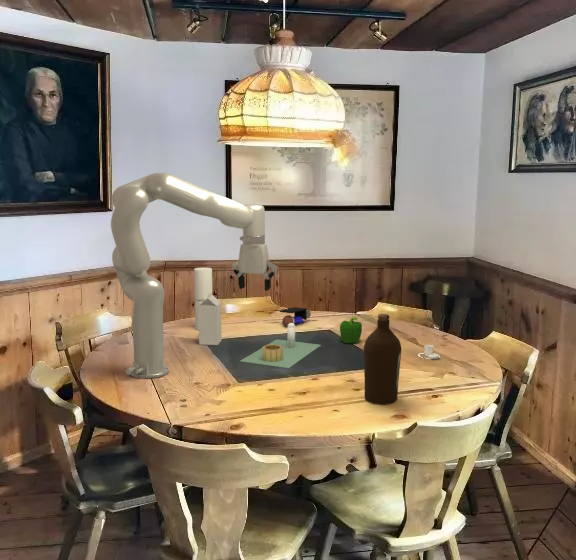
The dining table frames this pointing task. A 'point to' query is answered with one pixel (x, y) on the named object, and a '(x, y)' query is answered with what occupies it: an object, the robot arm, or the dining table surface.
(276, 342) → the post board
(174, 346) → the dining table surface
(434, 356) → the white charger with cable
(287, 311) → the figurine character
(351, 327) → the bell pepper
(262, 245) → the robot arm
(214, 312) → the milk carton
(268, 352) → the brass ring
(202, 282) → the cylindrical container
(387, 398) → the olive oil
